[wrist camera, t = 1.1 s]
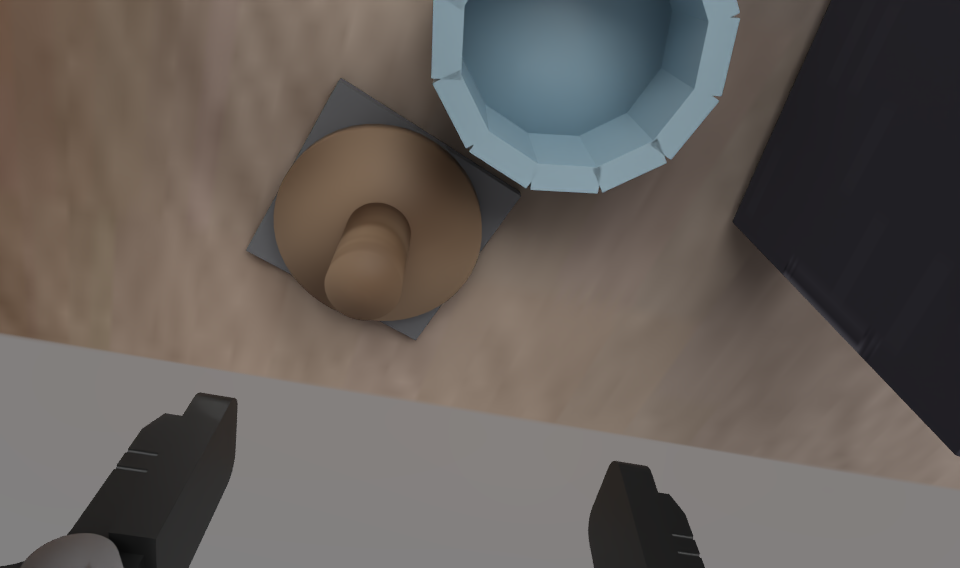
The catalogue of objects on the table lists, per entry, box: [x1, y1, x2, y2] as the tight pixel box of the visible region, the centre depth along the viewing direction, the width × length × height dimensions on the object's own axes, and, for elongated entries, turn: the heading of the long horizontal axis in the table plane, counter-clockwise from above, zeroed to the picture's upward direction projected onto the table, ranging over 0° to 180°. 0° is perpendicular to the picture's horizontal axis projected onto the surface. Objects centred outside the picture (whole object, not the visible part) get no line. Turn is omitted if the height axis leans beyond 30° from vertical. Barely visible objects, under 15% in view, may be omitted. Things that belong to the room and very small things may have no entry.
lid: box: [274, 124, 482, 321], centre depth 26 cm, size 9×9×6 cm
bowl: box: [431, 0, 740, 193], centre depth 24 cm, size 10×10×5 cm
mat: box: [246, 78, 521, 340], centre depth 29 cm, size 9×9×1 cm
